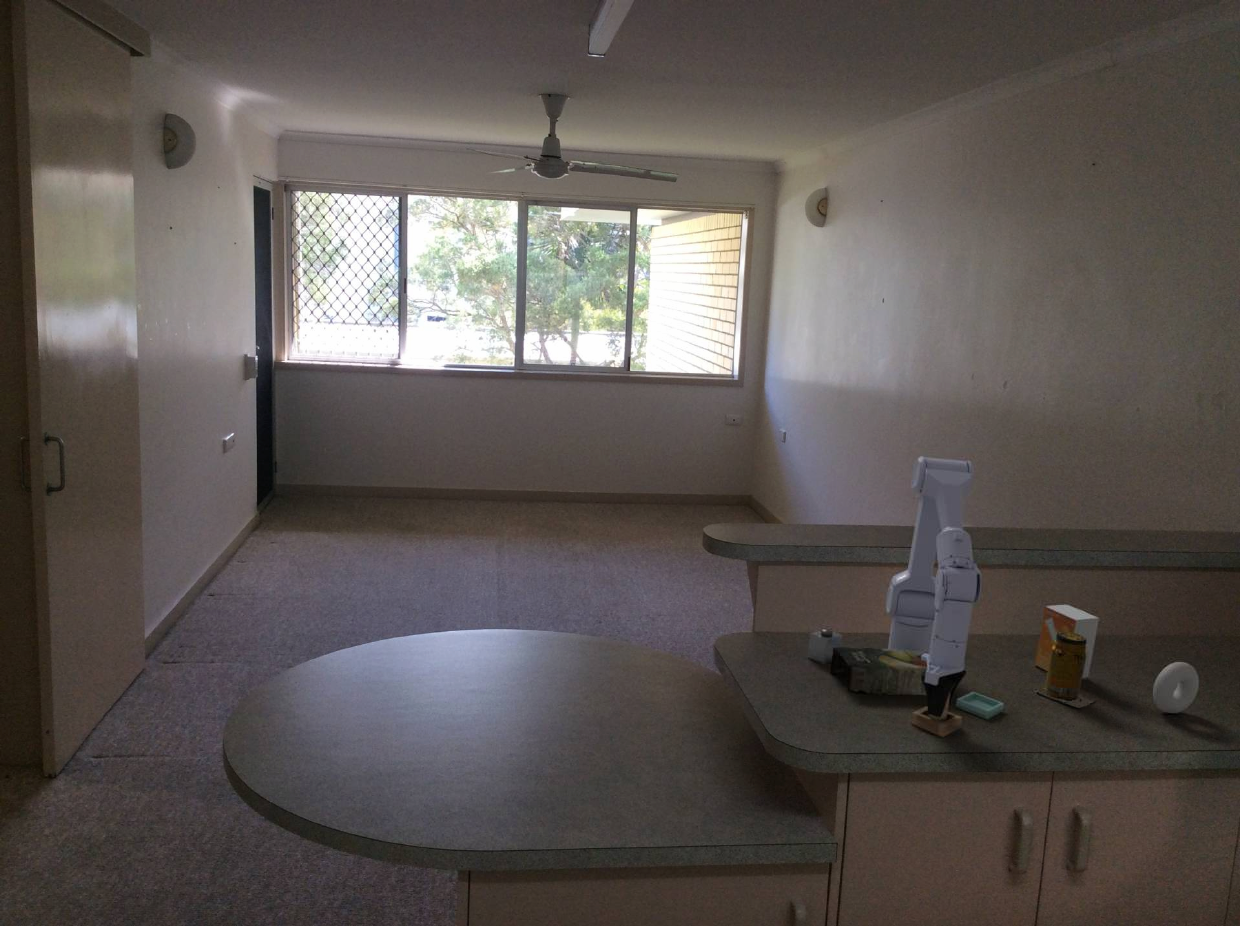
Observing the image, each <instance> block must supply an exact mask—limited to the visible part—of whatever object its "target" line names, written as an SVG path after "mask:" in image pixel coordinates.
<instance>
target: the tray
mask: <svg viewBox="0 0 1240 926" xmlns="http://www.w3.org/2000/svg"><path fill="white" fill-rule="evenodd" d="M1004 706H1005V703H1004V702H1002V701H999V700H996V699H994V698H991V697H988V696H986V695H984V694H981V693H979V692H975V691H971V692H969V693H967V694H964V695H963V696H961V697H958V698H957V699H956V703H955V707H956V708H957V709H960V710H962V711H965V712H968V713H970V714H973V715H976V716H977V717H980V718H983V719H985V720H989V719H991V718H992V717H995V716H997V715H998V714H1000V713H1003V712H1004V708H1005V707H1004Z"/></svg>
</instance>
